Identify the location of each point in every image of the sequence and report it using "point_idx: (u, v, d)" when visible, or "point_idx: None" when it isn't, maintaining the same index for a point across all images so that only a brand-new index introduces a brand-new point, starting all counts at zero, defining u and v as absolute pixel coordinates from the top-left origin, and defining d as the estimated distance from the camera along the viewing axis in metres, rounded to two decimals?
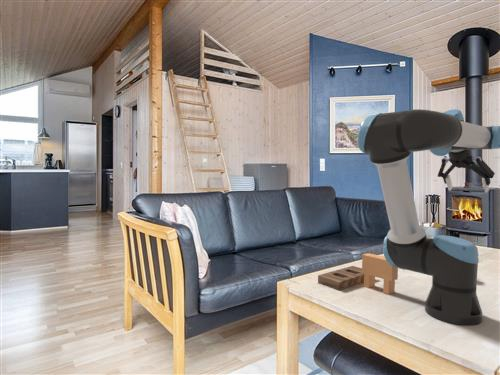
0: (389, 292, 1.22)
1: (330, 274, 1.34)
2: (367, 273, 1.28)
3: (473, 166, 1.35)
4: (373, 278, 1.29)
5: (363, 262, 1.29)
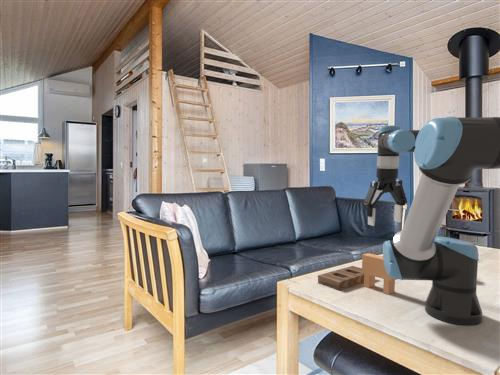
0: (389, 292, 1.22)
1: (330, 274, 1.34)
2: (367, 273, 1.28)
3: None
4: (373, 278, 1.29)
5: (363, 262, 1.29)
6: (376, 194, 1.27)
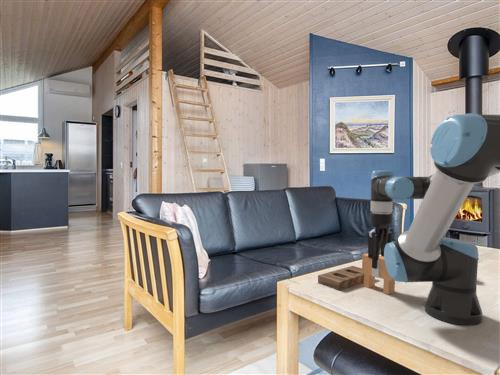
0: (389, 292, 1.22)
1: (330, 274, 1.34)
2: (367, 273, 1.28)
3: None
4: (373, 278, 1.29)
5: (363, 262, 1.29)
6: (376, 243, 1.24)
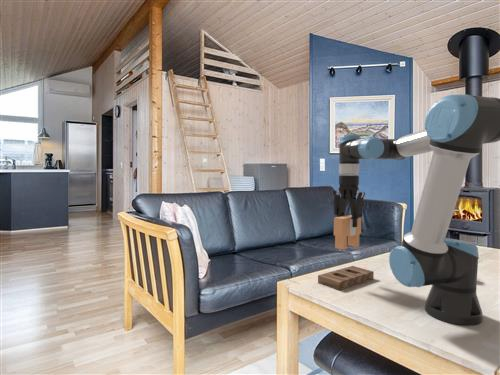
0: (336, 246, 1.33)
1: (330, 274, 1.34)
2: None
3: (352, 200, 1.31)
4: (354, 239, 1.36)
5: None
6: None
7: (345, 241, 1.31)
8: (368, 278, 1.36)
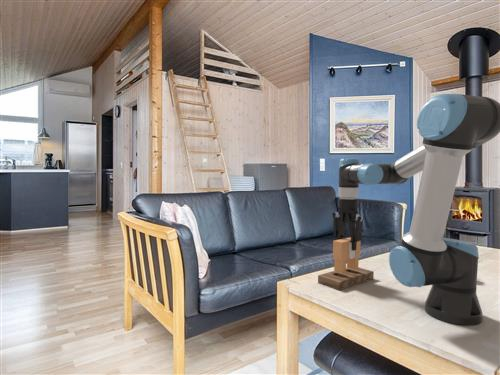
0: (335, 269, 1.34)
1: (330, 274, 1.34)
2: None
3: (352, 224, 1.32)
4: (353, 261, 1.36)
5: None
6: None
7: (344, 264, 1.31)
8: (368, 278, 1.36)
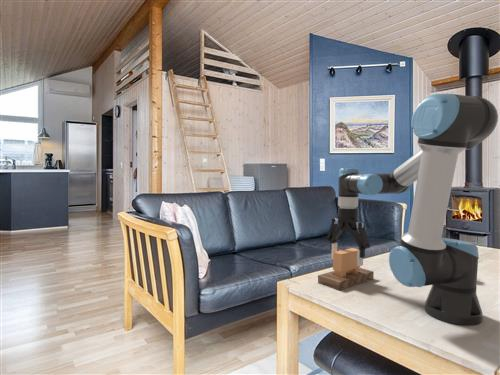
0: None
1: (330, 274, 1.34)
2: None
3: (354, 231, 1.31)
4: (353, 272, 1.36)
5: None
6: None
7: (344, 276, 1.31)
8: (368, 278, 1.36)
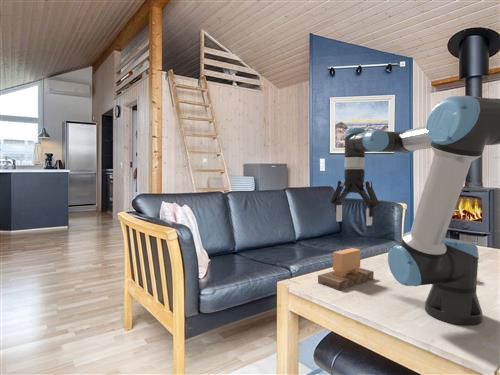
0: None
1: (330, 274, 1.34)
2: None
3: (362, 191, 1.29)
4: (353, 272, 1.36)
5: None
6: None
7: (344, 276, 1.31)
8: (368, 278, 1.36)
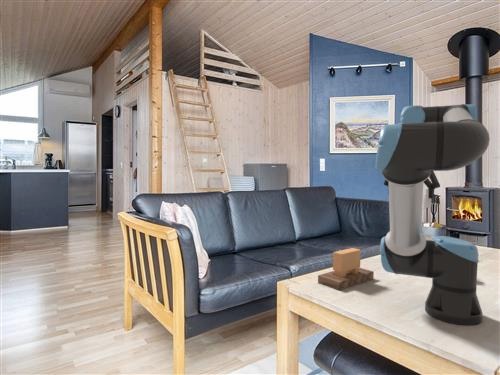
0: None
1: (330, 274, 1.34)
2: None
3: None
4: (353, 272, 1.36)
5: None
6: None
7: (344, 276, 1.31)
8: (368, 278, 1.36)
